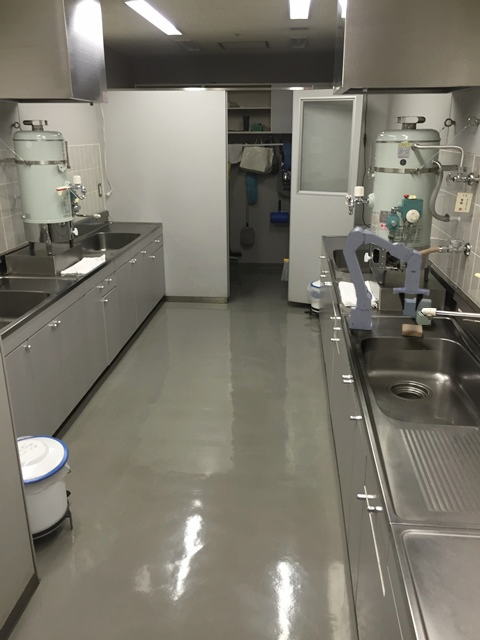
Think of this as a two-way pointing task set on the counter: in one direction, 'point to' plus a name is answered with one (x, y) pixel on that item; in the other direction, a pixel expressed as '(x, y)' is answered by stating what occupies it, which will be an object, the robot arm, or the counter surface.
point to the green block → (422, 319)
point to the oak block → (412, 330)
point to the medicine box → (422, 306)
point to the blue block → (409, 307)
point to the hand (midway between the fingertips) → (409, 309)
